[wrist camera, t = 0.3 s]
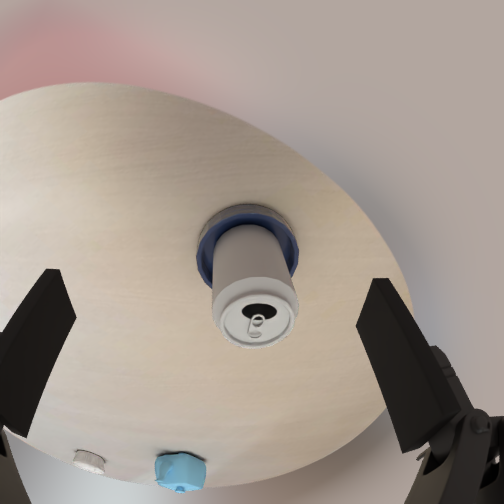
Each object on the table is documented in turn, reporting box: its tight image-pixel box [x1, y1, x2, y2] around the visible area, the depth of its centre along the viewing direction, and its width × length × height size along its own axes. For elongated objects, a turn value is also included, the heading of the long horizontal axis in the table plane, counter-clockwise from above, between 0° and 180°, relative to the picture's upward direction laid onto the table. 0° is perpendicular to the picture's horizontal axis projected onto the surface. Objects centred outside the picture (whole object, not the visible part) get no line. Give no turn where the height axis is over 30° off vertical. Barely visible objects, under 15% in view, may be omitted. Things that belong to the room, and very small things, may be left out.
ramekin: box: [72, 451, 105, 474], centre depth 67 cm, size 11×11×5 cm
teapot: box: [155, 453, 206, 493], centre depth 61 cm, size 12×18×12 cm
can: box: [212, 224, 299, 349], centre depth 29 cm, size 8×8×12 cm
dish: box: [196, 204, 299, 289], centre depth 33 cm, size 11×11×2 cm
